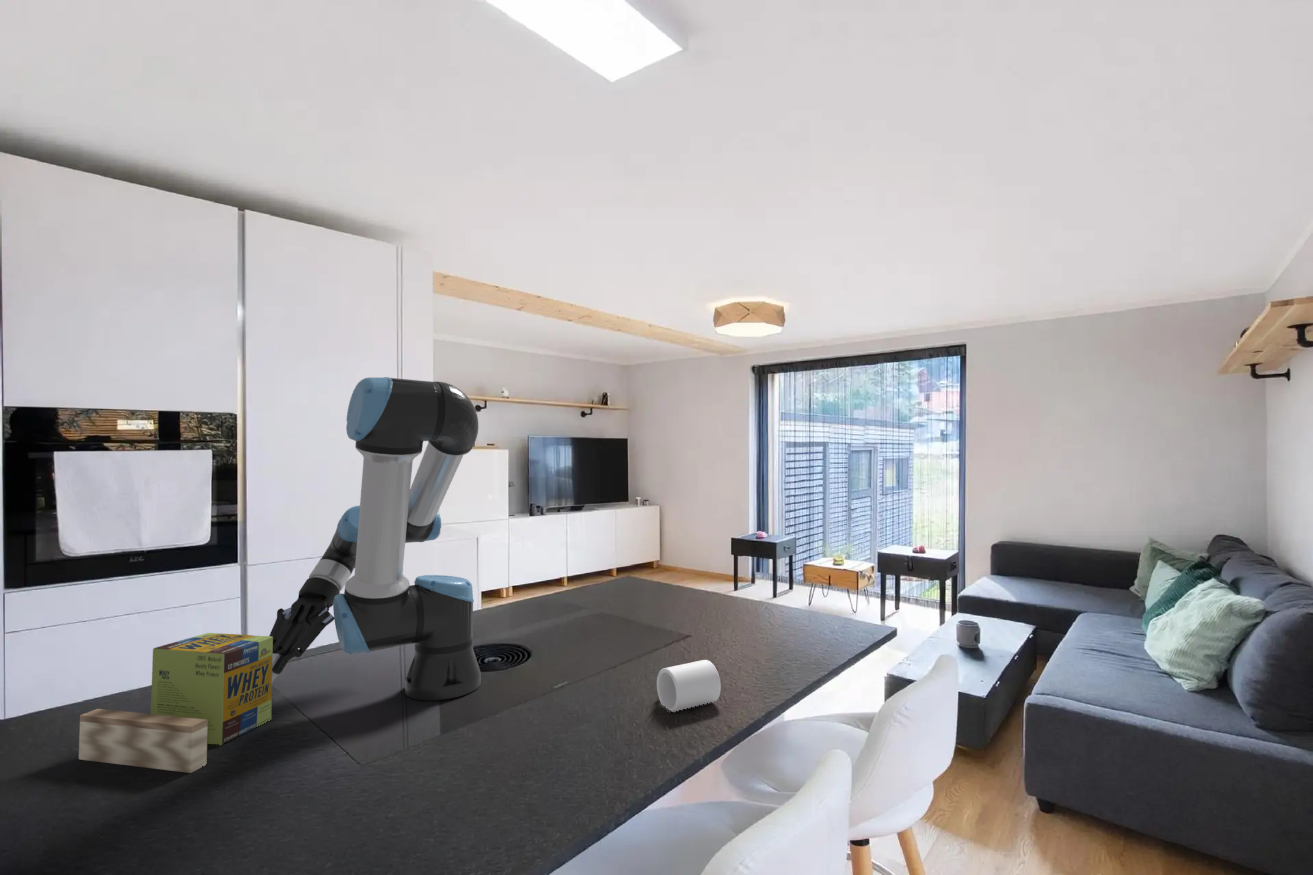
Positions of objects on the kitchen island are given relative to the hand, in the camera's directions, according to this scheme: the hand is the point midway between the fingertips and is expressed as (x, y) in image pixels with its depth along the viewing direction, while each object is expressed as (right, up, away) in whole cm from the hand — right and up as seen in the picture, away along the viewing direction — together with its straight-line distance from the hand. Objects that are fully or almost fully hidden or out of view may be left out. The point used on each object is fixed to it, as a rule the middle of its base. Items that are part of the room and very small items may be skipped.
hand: (259, 687), depth 118 cm
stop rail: (-4, -3, -22) cm, 23 cm away
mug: (+83, -3, +1) cm, 83 cm away
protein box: (-2, -3, -10) cm, 11 cm away
